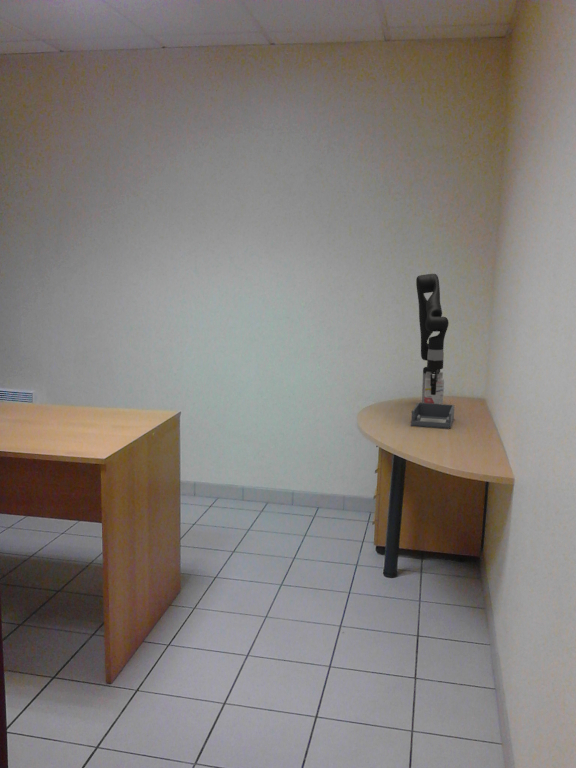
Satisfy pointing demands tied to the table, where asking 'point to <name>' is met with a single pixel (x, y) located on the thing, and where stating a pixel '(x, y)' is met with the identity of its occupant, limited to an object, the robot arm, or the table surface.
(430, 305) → the robot arm
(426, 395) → the ink cartridge box
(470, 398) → the table surface
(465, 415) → the table surface
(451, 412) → the walled box
